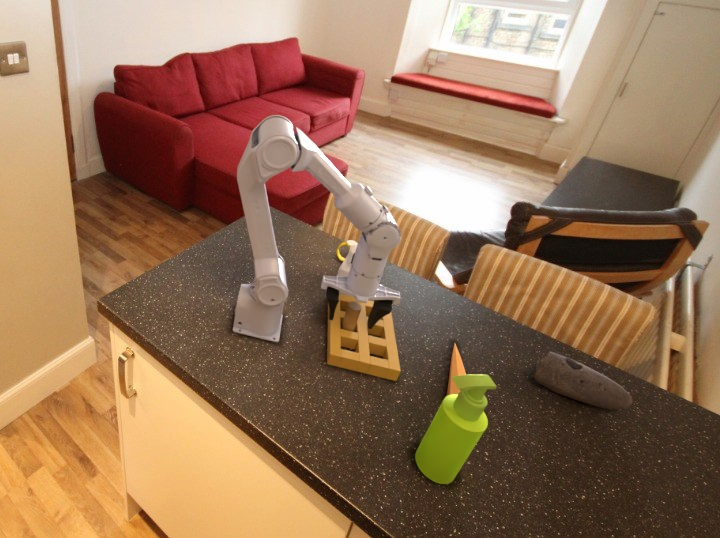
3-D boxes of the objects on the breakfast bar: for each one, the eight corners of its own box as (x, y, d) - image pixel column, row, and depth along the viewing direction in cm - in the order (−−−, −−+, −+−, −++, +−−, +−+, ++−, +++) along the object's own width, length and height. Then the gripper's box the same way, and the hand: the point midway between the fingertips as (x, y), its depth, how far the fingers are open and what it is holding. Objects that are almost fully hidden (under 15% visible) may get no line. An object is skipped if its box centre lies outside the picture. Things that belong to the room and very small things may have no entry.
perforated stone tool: (619, 405, 82) (640, 380, 79) (625, 427, 78) (647, 402, 75) (526, 366, 89) (541, 342, 85) (527, 385, 85) (543, 360, 81)
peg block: (327, 364, 85) (330, 354, 84) (328, 301, 101) (330, 291, 100) (396, 381, 83) (400, 371, 82) (386, 314, 99) (390, 304, 97)
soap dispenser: (402, 447, 72) (444, 362, 62) (442, 445, 73) (490, 361, 63) (420, 485, 67) (469, 399, 57) (462, 483, 68) (518, 398, 58)
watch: (333, 260, 115) (338, 241, 112) (336, 254, 117) (341, 236, 114) (356, 268, 112) (362, 249, 109) (359, 263, 114) (365, 244, 111)
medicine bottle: (370, 288, 106) (384, 247, 100) (362, 304, 101) (376, 262, 95) (341, 276, 109) (353, 235, 103) (332, 291, 104) (344, 250, 98)
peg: (339, 337, 92) (348, 308, 88) (339, 328, 94) (348, 299, 90) (352, 340, 91) (362, 311, 87) (351, 331, 93) (361, 302, 89)
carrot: (463, 428, 76) (483, 415, 74) (440, 410, 77) (459, 397, 75) (456, 354, 93) (472, 342, 91) (437, 341, 94) (453, 328, 92)
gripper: (327, 273, 82) (313, 326, 88) (410, 290, 79) (389, 344, 86) (328, 251, 88) (314, 302, 94) (404, 266, 85) (385, 318, 92)
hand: (349, 321), depth 91 cm, fingers open, 7 cm apart
